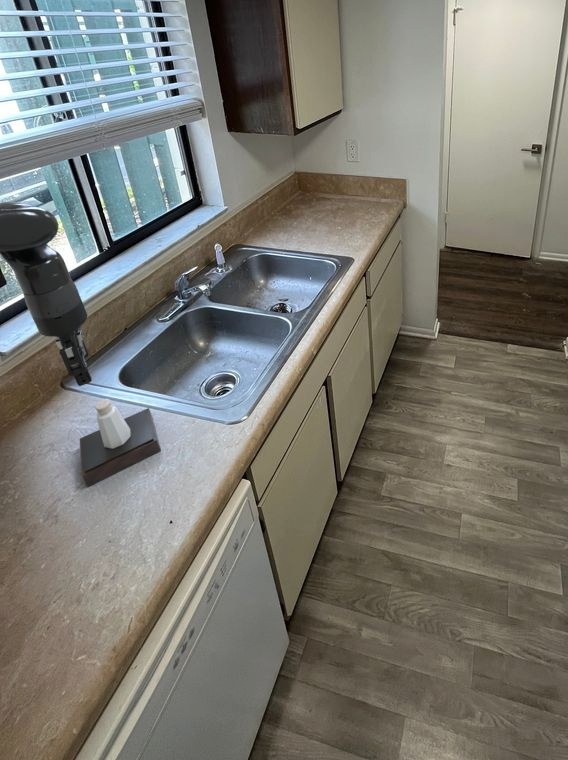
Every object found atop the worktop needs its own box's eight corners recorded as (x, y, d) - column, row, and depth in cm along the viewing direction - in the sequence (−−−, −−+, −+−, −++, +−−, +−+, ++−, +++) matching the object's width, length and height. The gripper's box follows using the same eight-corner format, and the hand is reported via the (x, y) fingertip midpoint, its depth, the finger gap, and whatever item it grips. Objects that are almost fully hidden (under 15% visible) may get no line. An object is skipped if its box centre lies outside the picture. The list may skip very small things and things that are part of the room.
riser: (87, 487, 91) (81, 475, 90) (84, 449, 99) (78, 437, 98) (161, 451, 99) (156, 439, 97) (152, 418, 107) (148, 406, 105)
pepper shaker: (98, 451, 94) (82, 415, 90) (110, 429, 99) (94, 394, 94) (125, 447, 95) (110, 412, 90) (135, 426, 100) (121, 391, 95)
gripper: (31, 293, 84) (60, 357, 91) (29, 333, 73) (62, 402, 80) (78, 280, 88) (102, 342, 95) (82, 316, 77) (109, 383, 84)
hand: (84, 369), depth 88 cm, fingers open, 8 cm apart
